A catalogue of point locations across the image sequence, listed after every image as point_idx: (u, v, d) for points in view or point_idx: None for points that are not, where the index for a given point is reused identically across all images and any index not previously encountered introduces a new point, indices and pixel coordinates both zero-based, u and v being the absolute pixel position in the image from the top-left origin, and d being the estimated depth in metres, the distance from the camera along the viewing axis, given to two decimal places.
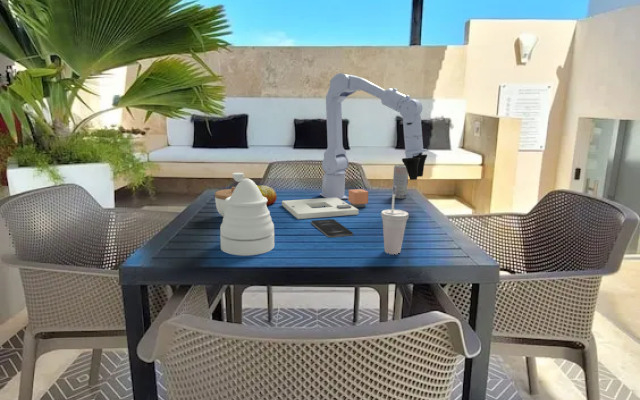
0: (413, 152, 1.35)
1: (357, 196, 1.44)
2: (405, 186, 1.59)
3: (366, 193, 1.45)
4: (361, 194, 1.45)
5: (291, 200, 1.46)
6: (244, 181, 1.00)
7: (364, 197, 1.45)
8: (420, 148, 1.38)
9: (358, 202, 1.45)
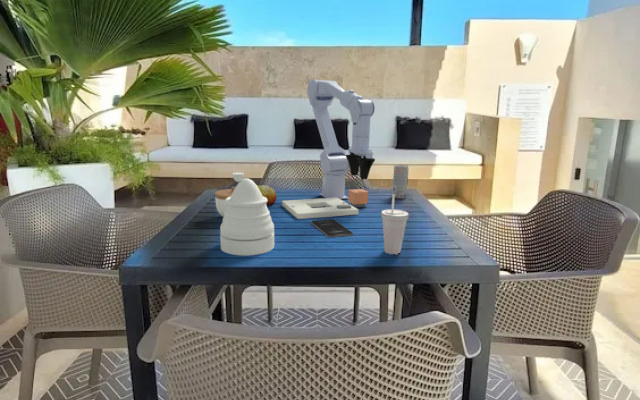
0: None
1: (357, 196, 1.44)
2: (405, 186, 1.59)
3: (366, 193, 1.45)
4: (361, 194, 1.45)
5: (291, 200, 1.46)
6: (244, 181, 1.00)
7: (364, 197, 1.45)
8: (368, 148, 1.43)
9: (358, 202, 1.45)
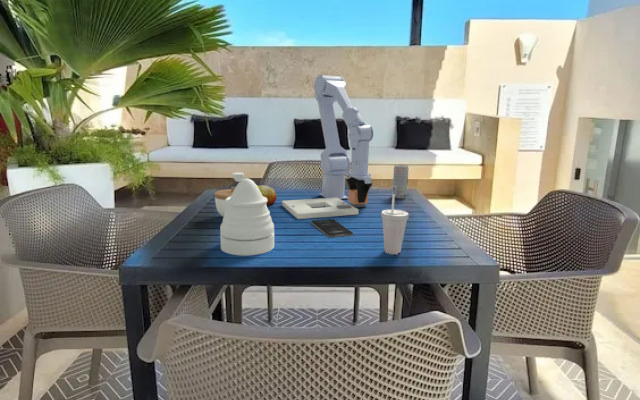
0: None
1: (357, 196, 1.44)
2: (405, 186, 1.59)
3: None
4: None
5: (291, 200, 1.46)
6: (244, 181, 1.00)
7: None
8: (367, 173, 1.45)
9: (358, 202, 1.45)
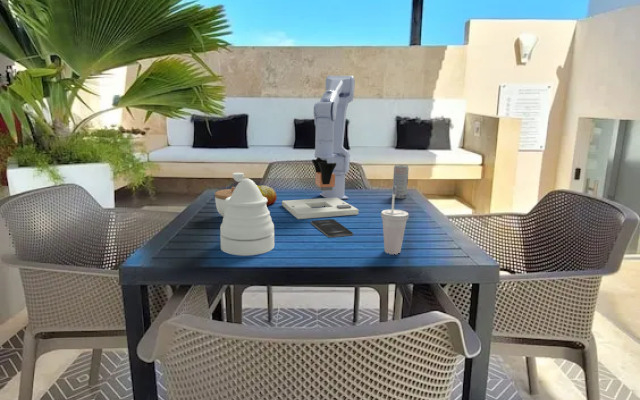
0: None
1: None
2: (405, 186, 1.59)
3: (333, 176, 1.37)
4: None
5: (291, 200, 1.46)
6: (244, 181, 1.00)
7: (330, 180, 1.37)
8: (332, 153, 1.37)
9: (324, 185, 1.37)
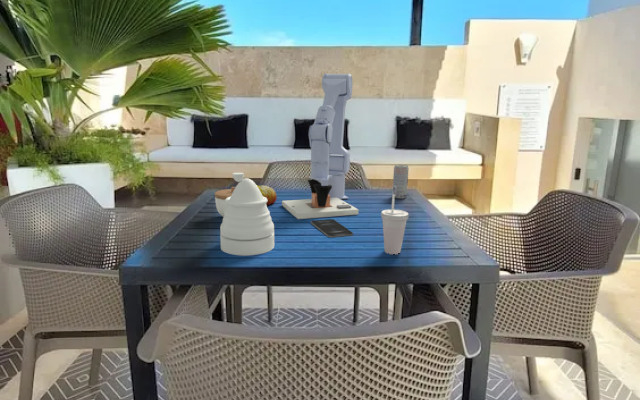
0: (327, 179, 1.33)
1: None
2: (405, 186, 1.59)
3: (328, 197, 1.38)
4: None
5: (291, 200, 1.46)
6: (244, 181, 1.00)
7: None
8: (328, 174, 1.38)
9: None
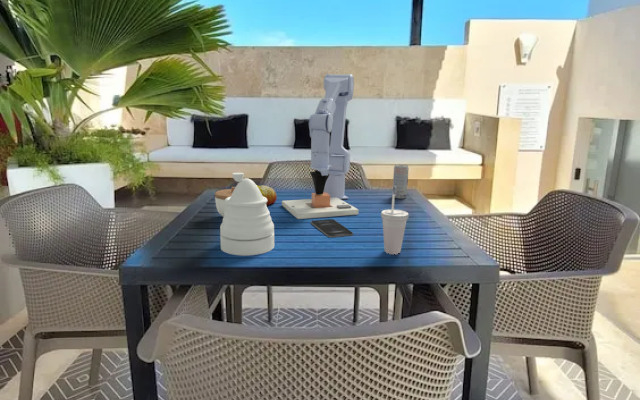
0: (327, 169, 1.33)
1: (318, 199, 1.38)
2: (405, 186, 1.59)
3: (328, 197, 1.38)
4: (322, 198, 1.38)
5: (291, 200, 1.46)
6: (244, 181, 1.00)
7: (325, 201, 1.38)
8: (328, 164, 1.37)
9: (319, 206, 1.38)
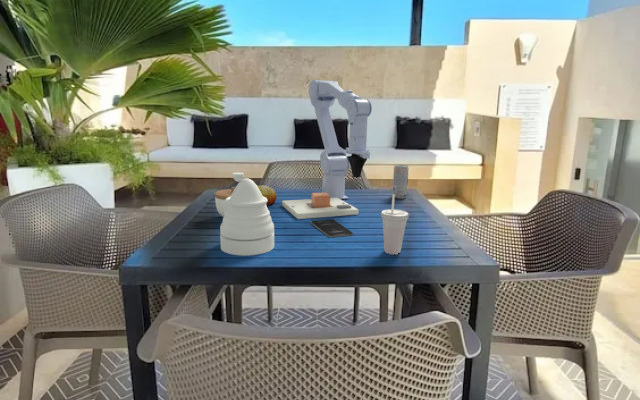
0: None
1: (318, 199, 1.38)
2: (405, 186, 1.59)
3: (328, 197, 1.38)
4: (322, 198, 1.38)
5: (291, 200, 1.46)
6: (244, 181, 1.00)
7: (325, 201, 1.38)
8: None
9: (319, 206, 1.38)
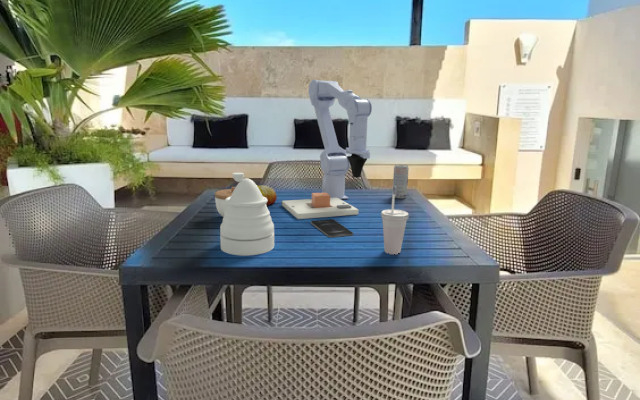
0: None
1: (318, 199, 1.38)
2: (405, 186, 1.59)
3: (328, 197, 1.38)
4: (322, 198, 1.38)
5: (291, 200, 1.46)
6: (244, 181, 1.00)
7: (325, 201, 1.38)
8: None
9: (319, 206, 1.38)
